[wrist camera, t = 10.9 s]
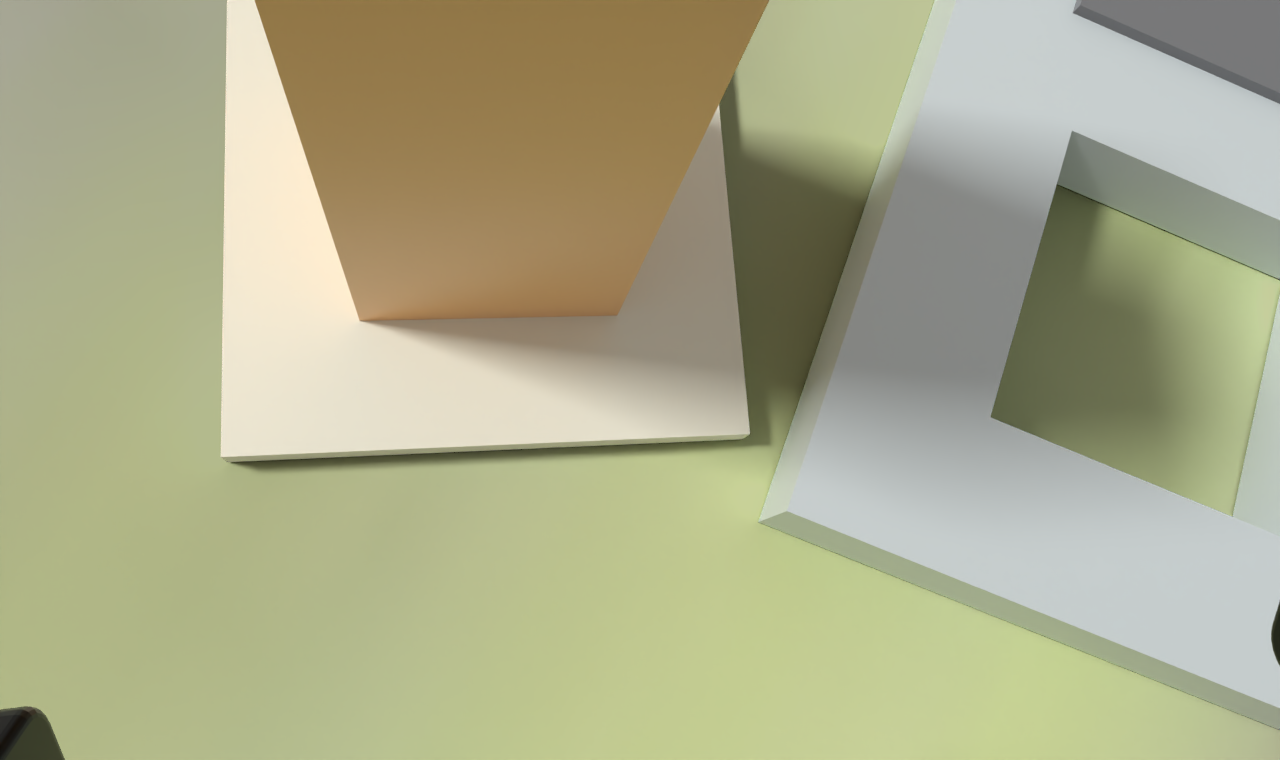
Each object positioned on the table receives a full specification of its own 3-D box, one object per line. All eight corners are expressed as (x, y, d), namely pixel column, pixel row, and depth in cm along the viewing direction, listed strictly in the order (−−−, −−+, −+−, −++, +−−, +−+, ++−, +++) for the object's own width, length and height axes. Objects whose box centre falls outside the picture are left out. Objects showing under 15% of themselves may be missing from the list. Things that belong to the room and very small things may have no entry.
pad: (742, 439, 22) (749, 433, 22) (227, 462, 20) (220, 457, 20) (702, -1, 24) (707, -16, 24) (233, -14, 23) (227, -30, 22)
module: (616, 315, 22) (828, -123, 9) (359, 320, 21) (204, -155, 8) (602, 86, 23) (772, -586, 10) (356, 82, 22) (215, -653, 9)
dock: (1331, 750, 23) (1426, 763, 20) (758, 522, 22) (791, 509, 20) (1455, 45, 27) (1542, -7, 25) (990, -164, 27) (1038, -237, 24)
